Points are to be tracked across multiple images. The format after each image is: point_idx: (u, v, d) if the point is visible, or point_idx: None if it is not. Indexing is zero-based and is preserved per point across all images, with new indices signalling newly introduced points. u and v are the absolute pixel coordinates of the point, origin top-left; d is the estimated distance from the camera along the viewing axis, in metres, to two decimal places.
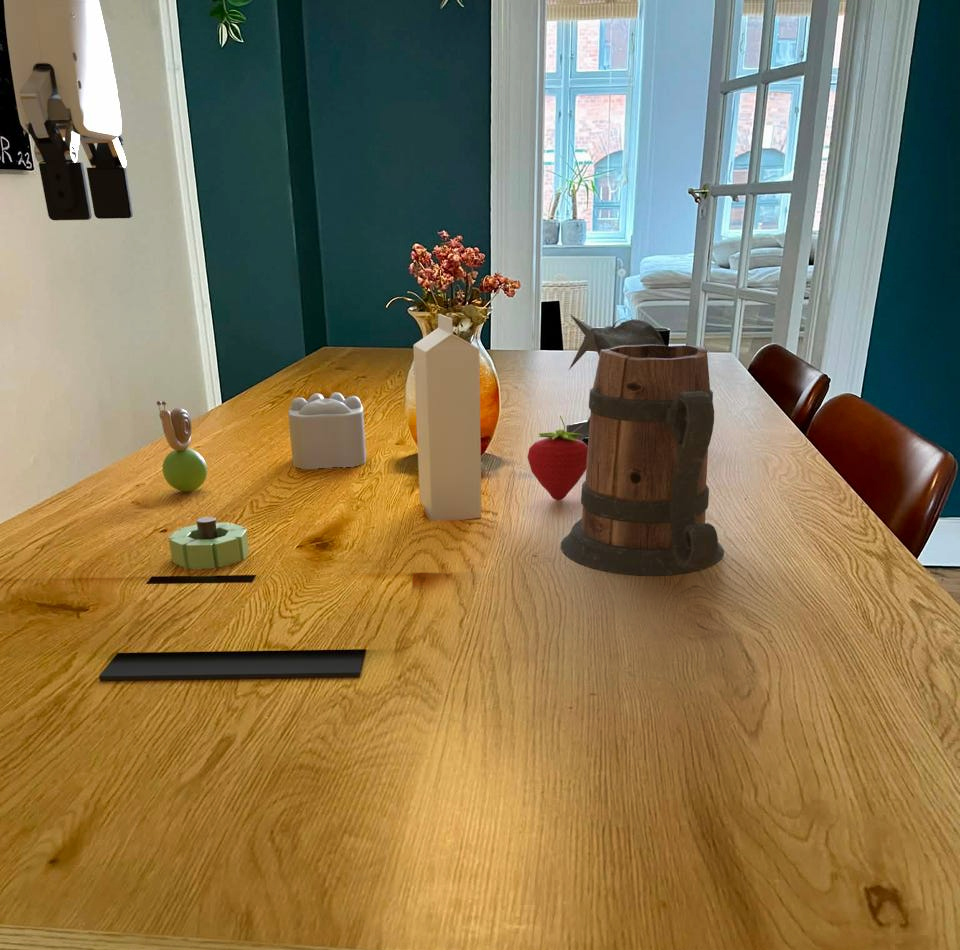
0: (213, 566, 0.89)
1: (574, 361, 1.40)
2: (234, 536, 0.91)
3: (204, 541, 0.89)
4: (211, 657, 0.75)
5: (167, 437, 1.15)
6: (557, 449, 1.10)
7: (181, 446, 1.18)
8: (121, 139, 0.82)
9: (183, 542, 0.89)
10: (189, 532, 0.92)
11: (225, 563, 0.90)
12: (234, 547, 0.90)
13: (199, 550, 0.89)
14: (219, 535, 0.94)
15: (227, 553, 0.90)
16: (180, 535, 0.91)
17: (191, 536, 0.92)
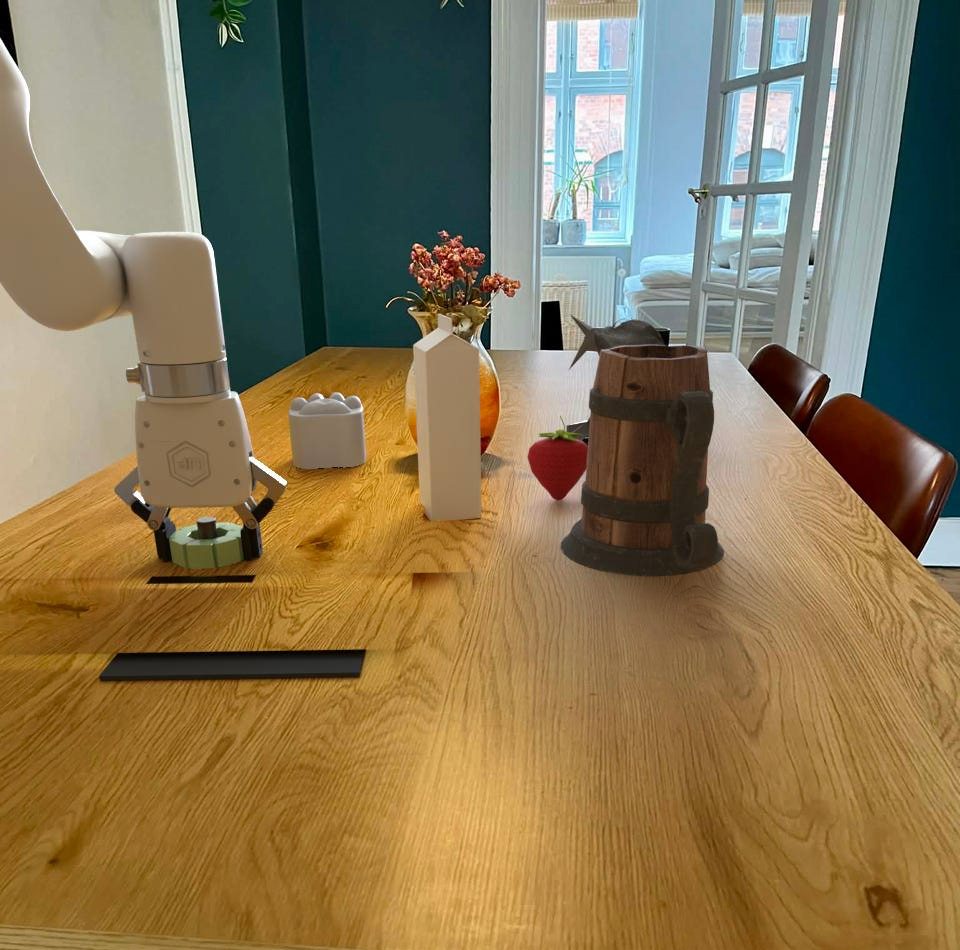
0: (213, 566, 0.89)
1: (574, 361, 1.40)
2: (234, 536, 0.91)
3: (204, 541, 0.89)
4: (211, 657, 0.75)
5: None
6: (557, 449, 1.10)
7: None
8: None
9: (183, 542, 0.89)
10: (189, 532, 0.92)
11: (225, 563, 0.90)
12: (234, 547, 0.90)
13: (199, 550, 0.89)
14: (219, 535, 0.94)
15: (227, 553, 0.90)
16: (180, 535, 0.91)
17: (191, 536, 0.92)
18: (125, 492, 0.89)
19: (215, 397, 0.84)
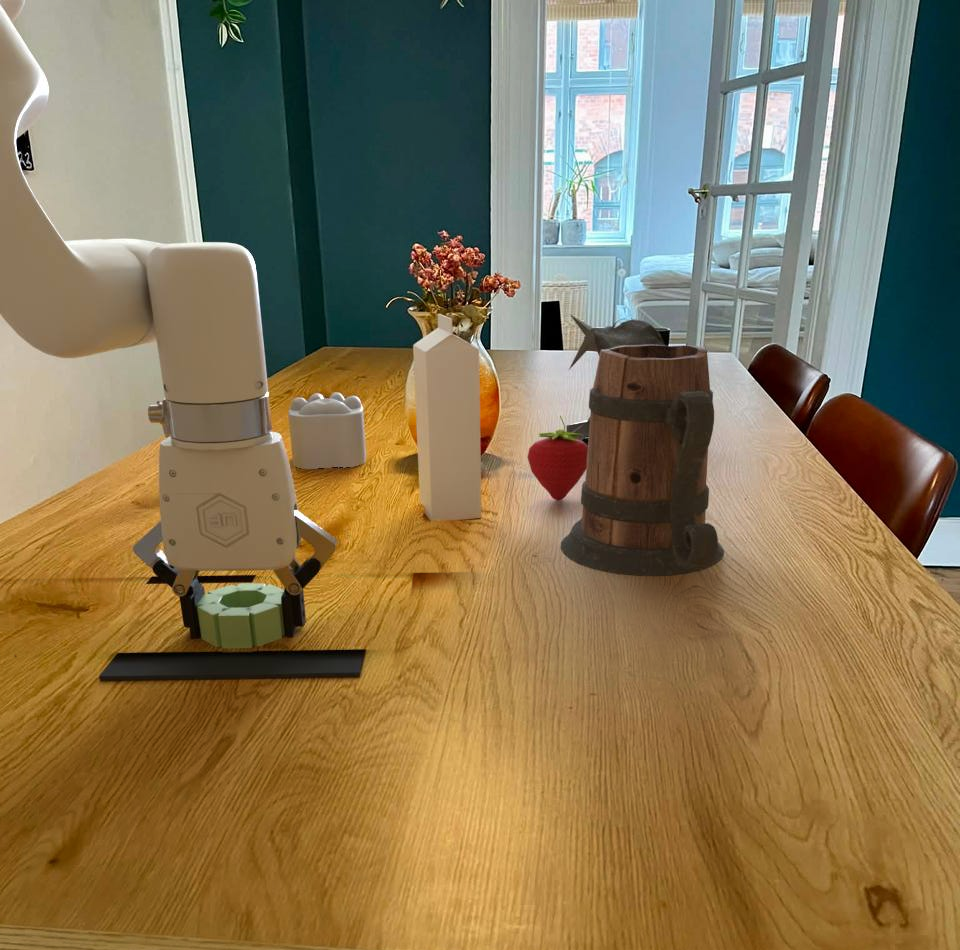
0: (250, 640, 0.75)
1: (574, 361, 1.40)
2: (274, 603, 0.76)
3: (239, 610, 0.75)
4: (211, 657, 0.75)
5: (167, 437, 1.15)
6: (557, 449, 1.10)
7: None
8: None
9: (215, 611, 0.75)
10: (220, 597, 0.78)
11: (264, 636, 0.76)
12: (274, 617, 0.76)
13: (233, 621, 0.74)
14: (255, 599, 0.79)
15: (266, 624, 0.76)
16: (210, 602, 0.77)
17: (222, 601, 0.78)
18: (146, 551, 0.75)
19: (255, 441, 0.70)
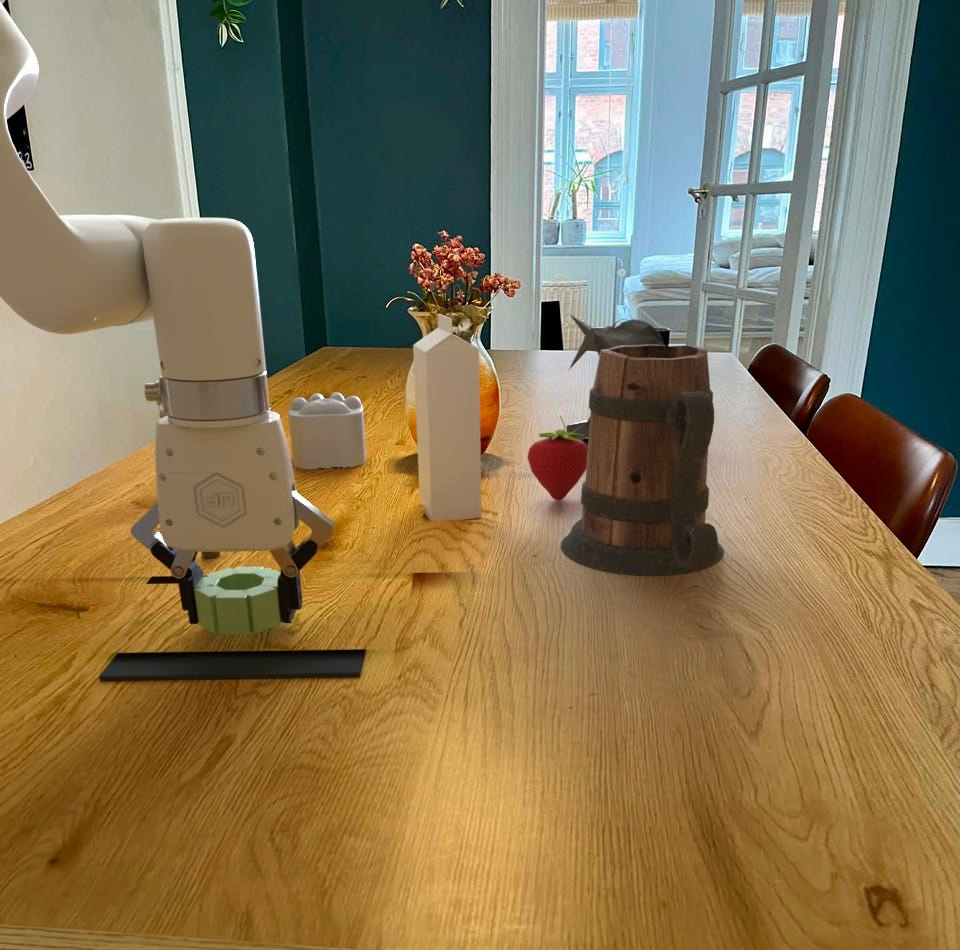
0: (247, 622, 0.74)
1: (574, 361, 1.40)
2: (272, 586, 0.76)
3: (236, 593, 0.74)
4: (211, 657, 0.75)
5: None
6: (557, 449, 1.10)
7: None
8: None
9: (212, 594, 0.74)
10: (217, 579, 0.77)
11: (261, 618, 0.75)
12: (272, 599, 0.75)
13: (231, 604, 0.74)
14: (253, 582, 0.79)
15: (264, 607, 0.75)
16: (207, 584, 0.76)
17: (220, 584, 0.77)
18: (144, 533, 0.74)
19: (253, 420, 0.69)
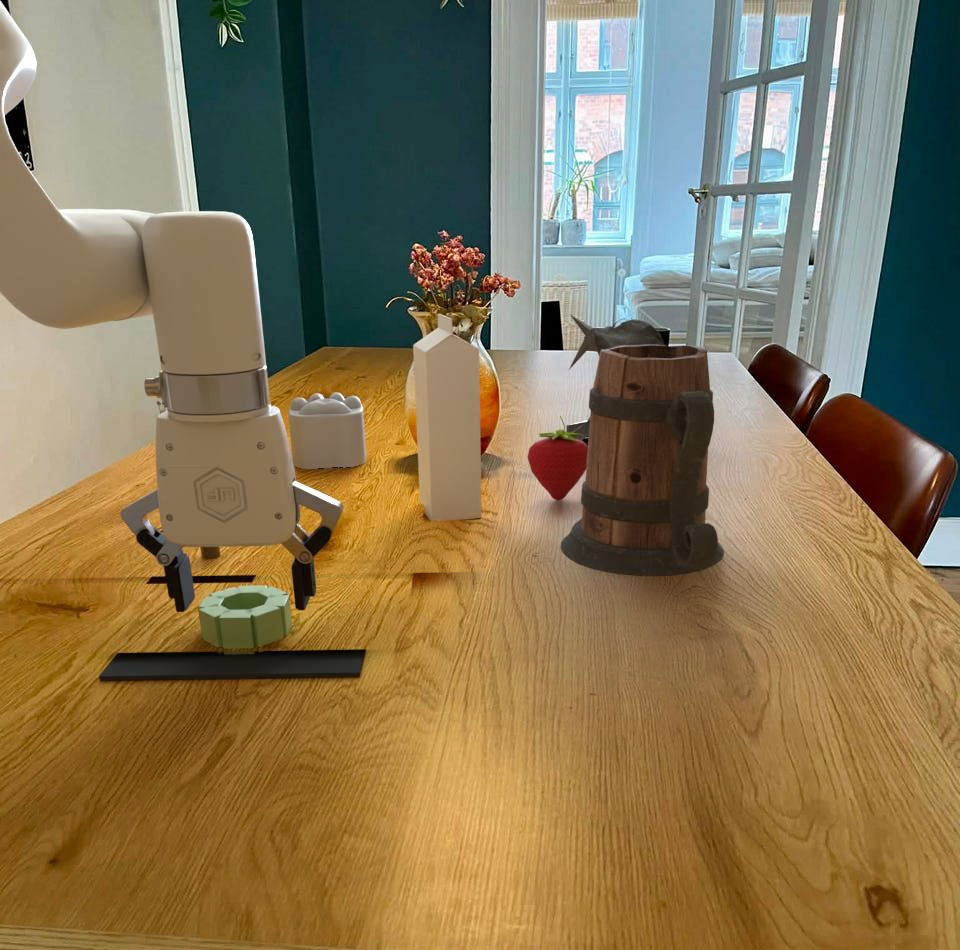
0: (251, 642, 0.75)
1: (574, 361, 1.40)
2: (275, 605, 0.76)
3: (240, 612, 0.75)
4: (211, 657, 0.75)
5: None
6: (557, 449, 1.10)
7: None
8: None
9: (216, 614, 0.75)
10: (221, 599, 0.78)
11: (265, 638, 0.76)
12: (276, 618, 0.76)
13: (235, 623, 0.74)
14: (256, 601, 0.79)
15: (268, 626, 0.76)
16: (212, 604, 0.77)
17: (224, 604, 0.78)
18: (133, 518, 0.74)
19: (253, 414, 0.69)
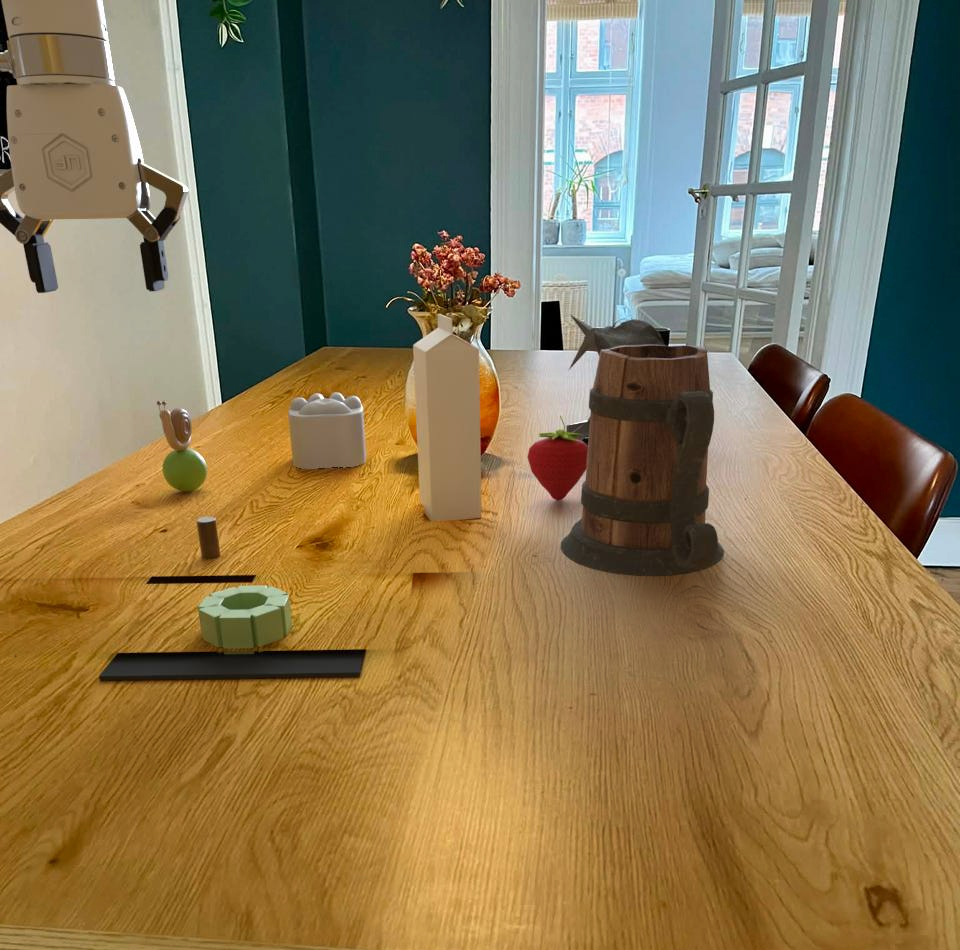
0: (251, 642, 0.75)
1: (574, 361, 1.40)
2: (275, 605, 0.76)
3: (240, 612, 0.75)
4: (211, 657, 0.75)
5: (167, 437, 1.15)
6: (557, 449, 1.10)
7: (181, 446, 1.18)
8: None
9: (216, 614, 0.75)
10: (221, 599, 0.78)
11: (265, 638, 0.76)
12: (276, 618, 0.76)
13: (235, 623, 0.74)
14: (256, 601, 0.79)
15: (268, 626, 0.76)
16: (212, 604, 0.77)
17: (224, 604, 0.78)
18: None
19: (93, 80, 0.76)
